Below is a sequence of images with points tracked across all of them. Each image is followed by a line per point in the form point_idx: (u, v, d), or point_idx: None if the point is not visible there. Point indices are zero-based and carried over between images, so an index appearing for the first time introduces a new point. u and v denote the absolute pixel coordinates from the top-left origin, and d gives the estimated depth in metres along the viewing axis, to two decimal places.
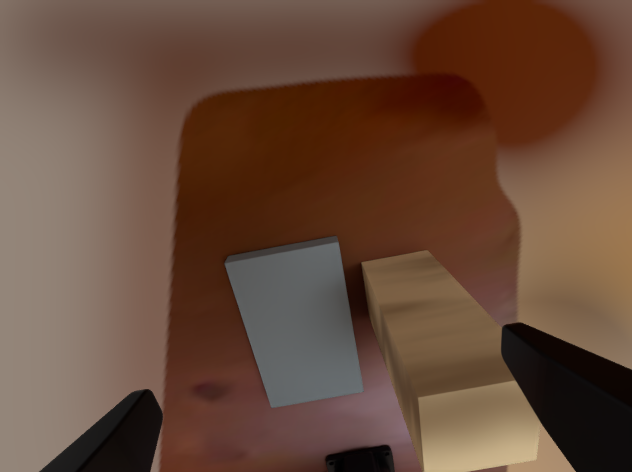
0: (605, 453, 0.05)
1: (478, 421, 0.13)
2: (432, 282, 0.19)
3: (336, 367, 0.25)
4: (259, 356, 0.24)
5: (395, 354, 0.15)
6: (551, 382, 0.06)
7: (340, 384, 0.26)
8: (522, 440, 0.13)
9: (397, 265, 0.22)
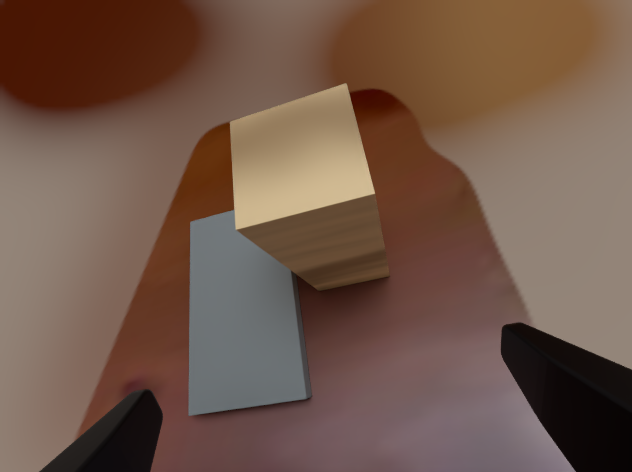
0: (605, 453, 0.05)
1: (289, 141, 0.12)
2: None
3: (272, 348, 0.20)
4: (194, 325, 0.22)
5: None
6: (551, 382, 0.06)
7: (275, 379, 0.19)
8: (345, 163, 0.11)
9: None
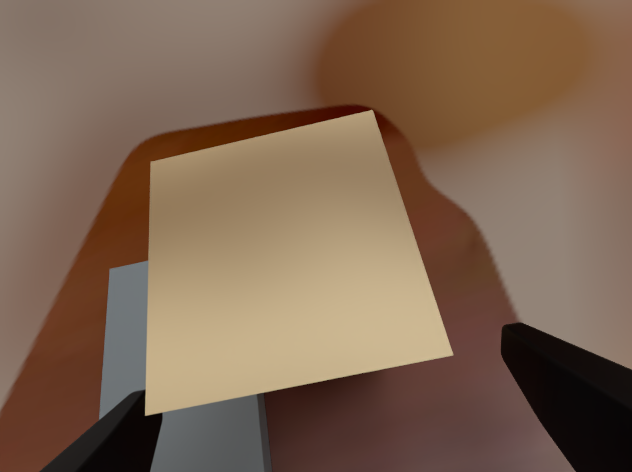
0: (605, 453, 0.05)
1: (265, 215, 0.06)
2: None
3: (223, 471, 0.14)
4: None
5: None
6: (551, 382, 0.06)
7: None
8: (383, 276, 0.05)
9: None
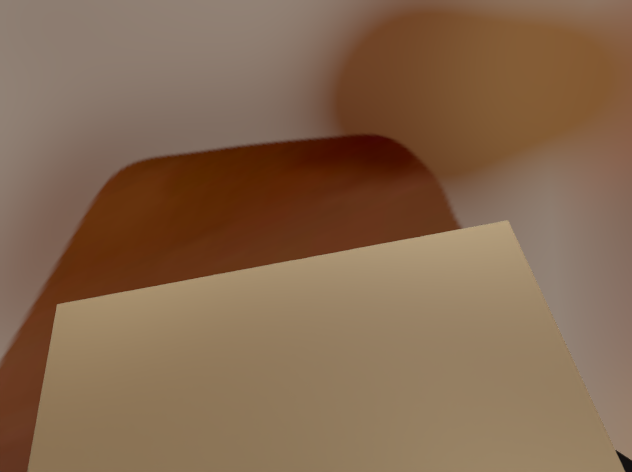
0: None
1: None
2: None
3: None
4: None
5: None
6: None
7: None
8: None
9: None
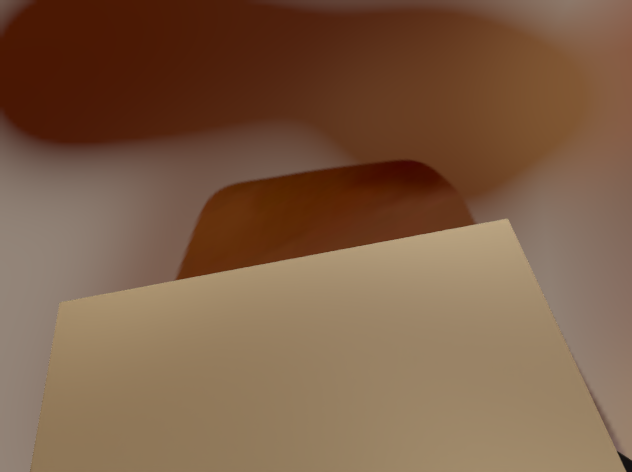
0: None
1: None
2: None
3: None
4: None
5: None
6: None
7: None
8: None
9: None
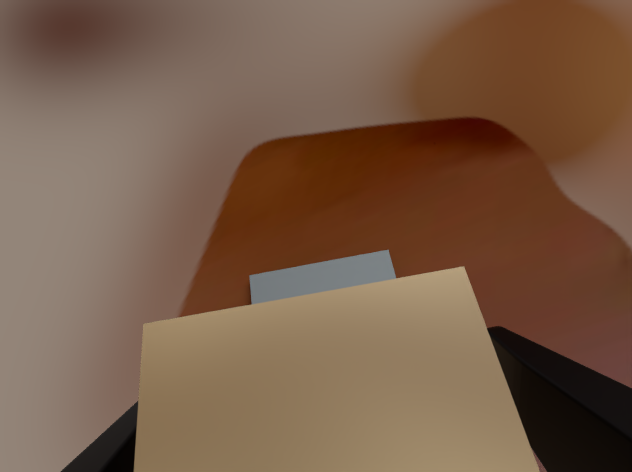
0: (575, 458, 0.05)
1: (314, 444, 0.04)
2: None
3: None
4: None
5: None
6: (526, 386, 0.06)
7: None
8: None
9: None
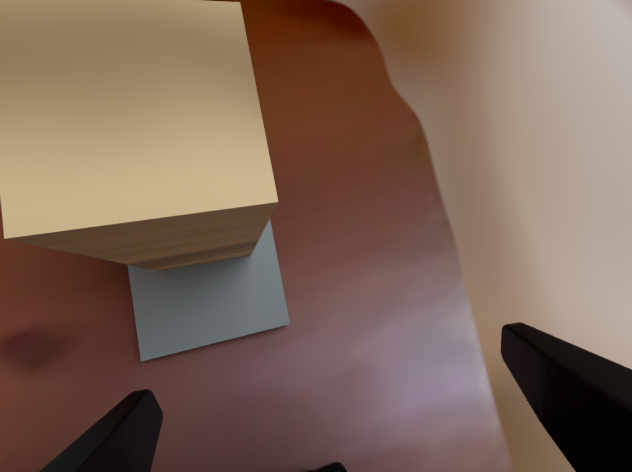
0: (605, 453, 0.05)
1: (130, 77, 0.07)
2: None
3: (249, 278, 0.18)
4: None
5: None
6: (551, 382, 0.06)
7: (255, 309, 0.18)
8: (234, 144, 0.07)
9: None
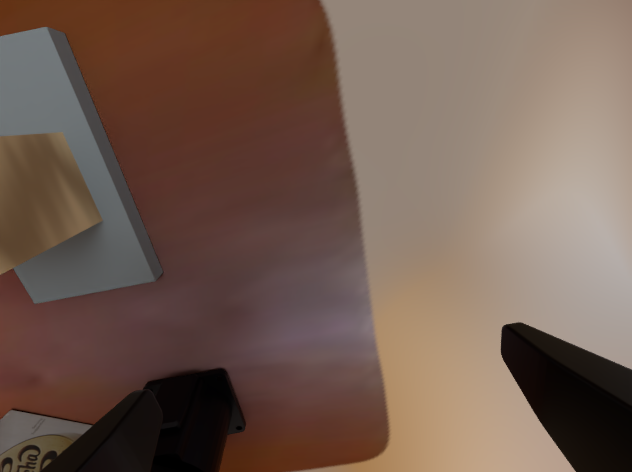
0: (605, 453, 0.05)
1: None
2: None
3: (106, 241, 0.19)
4: None
5: None
6: (551, 382, 0.06)
7: (119, 268, 0.19)
8: None
9: None
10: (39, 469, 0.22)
